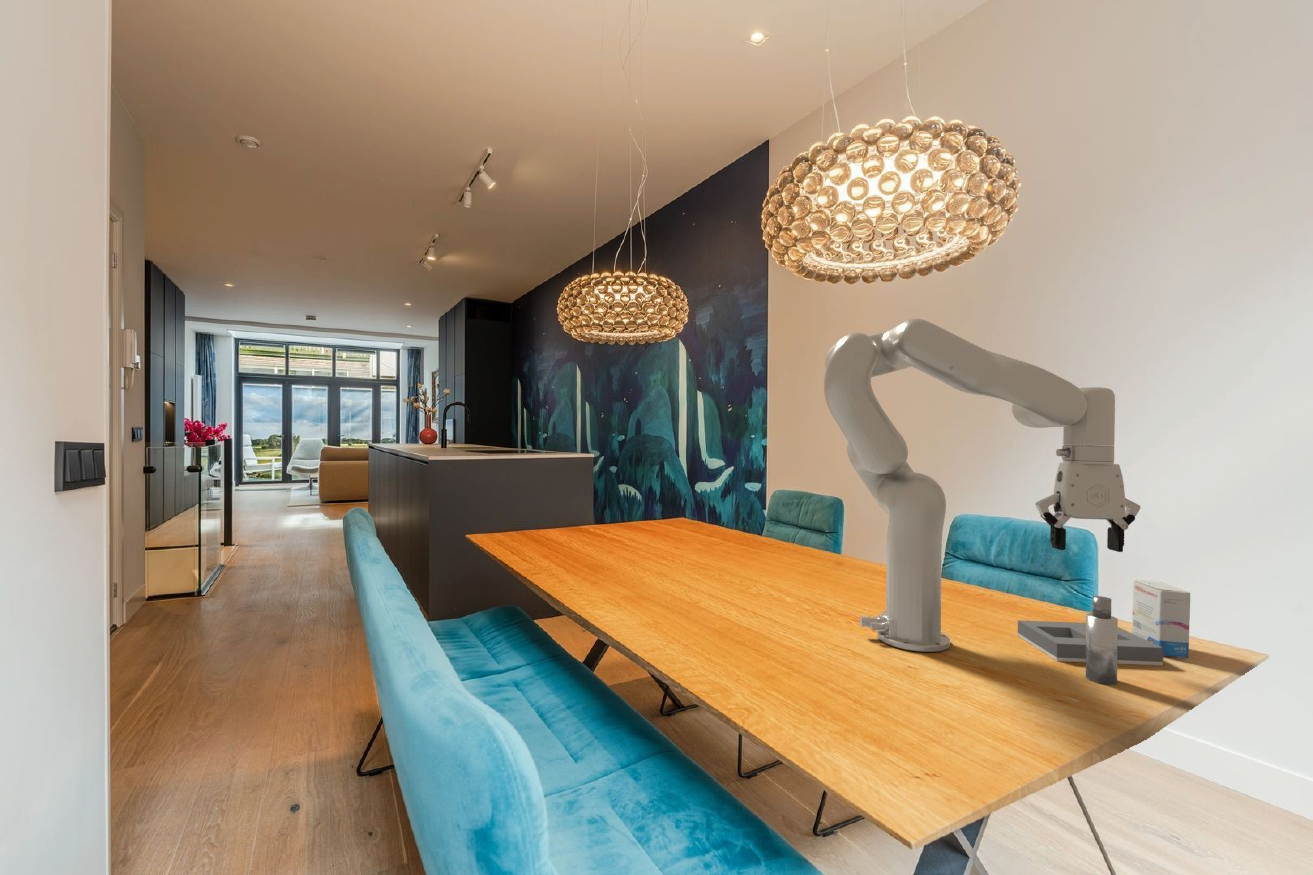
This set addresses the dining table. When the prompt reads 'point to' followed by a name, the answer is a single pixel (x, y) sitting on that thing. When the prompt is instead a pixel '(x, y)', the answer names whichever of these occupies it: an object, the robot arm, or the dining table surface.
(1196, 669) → the dining table surface
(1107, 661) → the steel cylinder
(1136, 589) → the ink box
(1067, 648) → the socket board
